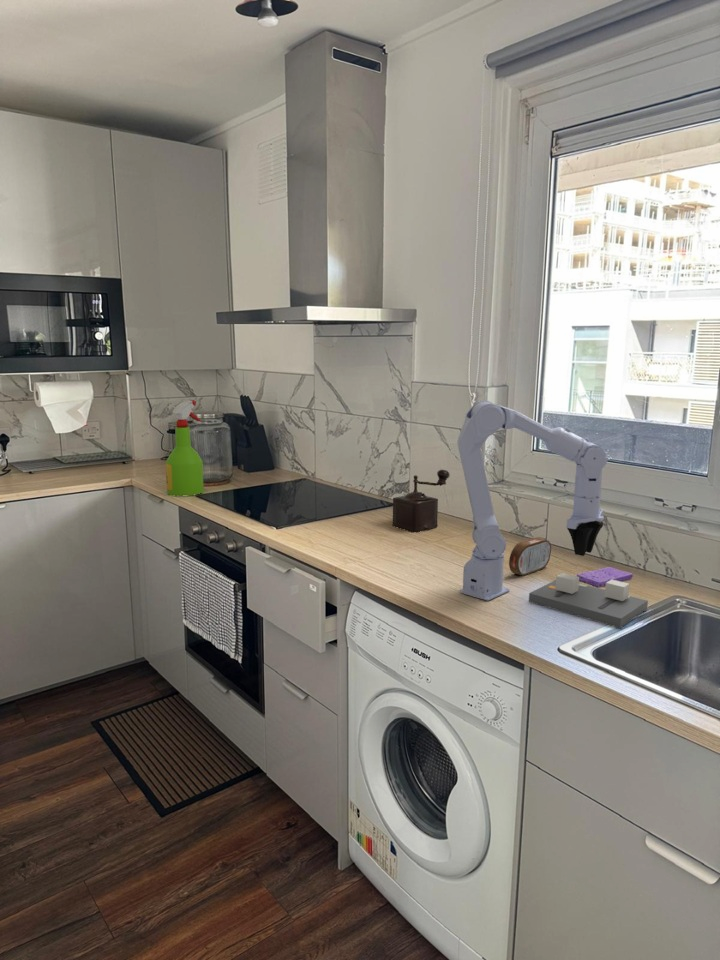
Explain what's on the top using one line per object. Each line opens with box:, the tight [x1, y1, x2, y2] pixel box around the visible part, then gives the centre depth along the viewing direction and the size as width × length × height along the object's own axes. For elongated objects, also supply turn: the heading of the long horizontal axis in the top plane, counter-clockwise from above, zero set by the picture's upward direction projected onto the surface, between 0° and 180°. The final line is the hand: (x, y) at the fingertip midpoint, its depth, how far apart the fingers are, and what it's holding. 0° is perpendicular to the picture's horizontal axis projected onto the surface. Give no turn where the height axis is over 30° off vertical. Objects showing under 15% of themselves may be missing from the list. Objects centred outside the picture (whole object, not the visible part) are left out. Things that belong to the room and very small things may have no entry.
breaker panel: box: [528, 579, 649, 629], centre depth 153 cm, size 14×21×2 cm, turn 47°
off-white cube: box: [555, 572, 580, 594], centre depth 156 cm, size 3×4×3 cm
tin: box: [508, 536, 552, 576], centre depth 176 cm, size 15×3×8 cm, turn 131°
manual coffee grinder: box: [392, 469, 450, 533], centre depth 218 cm, size 16×11×18 cm
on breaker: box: [604, 580, 630, 601], centre depth 152 cm, size 3×4×3 cm
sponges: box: [576, 566, 634, 588], centre depth 171 cm, size 7×13×2 cm, turn 122°
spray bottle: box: [165, 399, 205, 497], centre depth 265 cm, size 14×18×35 cm
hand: (583, 553), depth 160 cm, fingers open, 3 cm apart
